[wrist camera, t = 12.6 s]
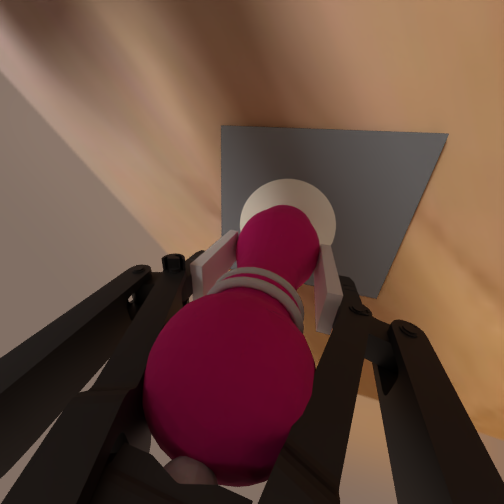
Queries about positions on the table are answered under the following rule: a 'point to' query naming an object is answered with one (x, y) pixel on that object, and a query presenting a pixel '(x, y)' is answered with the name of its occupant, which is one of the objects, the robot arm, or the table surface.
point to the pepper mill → (237, 360)
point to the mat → (332, 188)
